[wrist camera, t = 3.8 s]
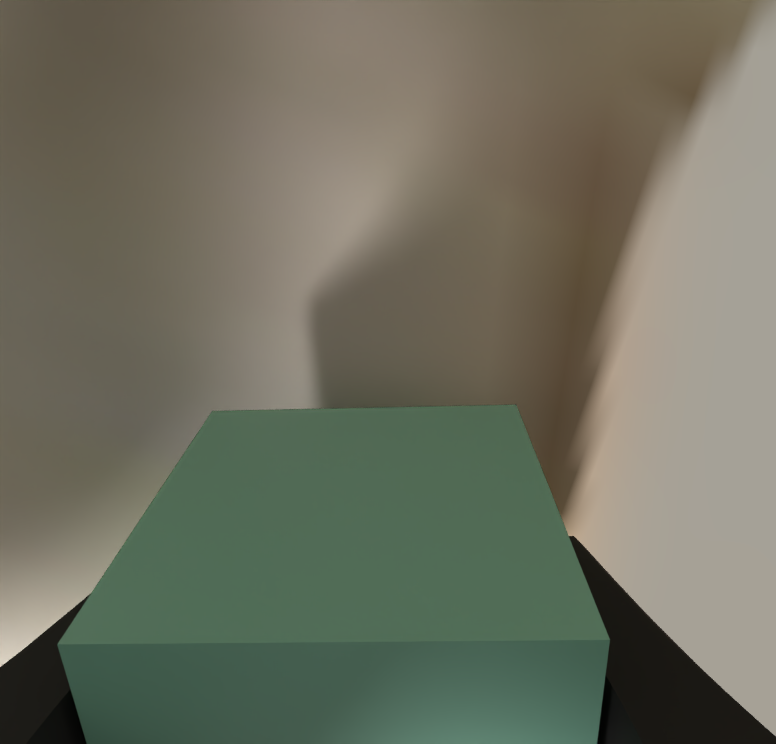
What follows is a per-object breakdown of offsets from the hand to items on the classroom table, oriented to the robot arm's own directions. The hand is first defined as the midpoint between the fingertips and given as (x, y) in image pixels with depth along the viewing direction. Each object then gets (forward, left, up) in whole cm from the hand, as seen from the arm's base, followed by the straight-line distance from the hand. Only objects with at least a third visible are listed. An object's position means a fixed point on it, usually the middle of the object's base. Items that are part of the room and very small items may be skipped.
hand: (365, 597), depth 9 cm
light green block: (0, 0, -1) cm, 1 cm away
